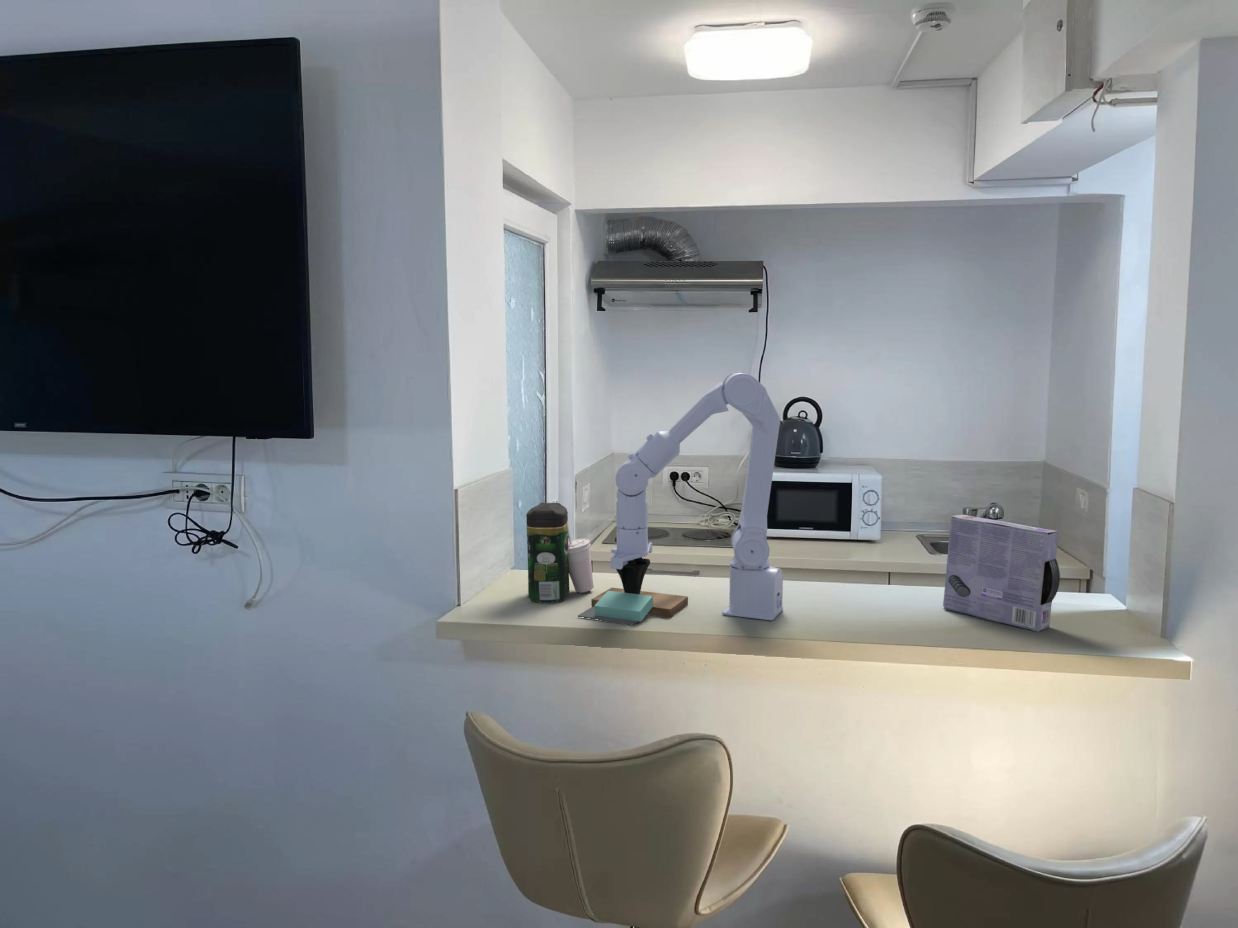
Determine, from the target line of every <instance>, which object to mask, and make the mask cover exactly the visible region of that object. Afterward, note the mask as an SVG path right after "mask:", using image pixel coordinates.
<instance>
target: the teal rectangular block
mask: <svg viewBox="0 0 1238 928" xmlns="http://www.w3.org/2000/svg"><path fill="white" fill-rule="evenodd" d="M606 591H607V590H606ZM653 606H654V605H653V596H648V595H640V594H632V593H624V592H615V591H607V592H606V593H605V595H604V596H603V597H602V598H601V599H600V600H599V601H598V602H597V603H596V604H595V605H594V608H595V616H603V617H610V618H618V619H625V620H633V621H638V622H639V623H640V622H642V621H643V620H644V619H645V617H647V616H648V615H647V613H648V612H649V611H650V610H651V608H652V607H653ZM646 615H647V616H646Z"/></svg>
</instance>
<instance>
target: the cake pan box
mask: <svg viewBox="0 0 1238 928" xmlns="http://www.w3.org/2000/svg"><path fill="white" fill-rule="evenodd" d="M949 524H950V525H949V537H948V545H947V546H948V548H947V558H946V569H945V580H944V581H945V582H944V591H943V592H944V593H943V603H942V607H943V608H942V609H944V610H947V611H948V610H949V611H953V612H957V613H961V614H964V615H969V616H974V617H976V618H979V619H984V620H988V621H992V622H996V623H999V624H1001V623H1002V624H1006V625H1009V626H1013V627H1014V626H1015V627H1017V628H1022V629H1027V630H1030V631H1034V632H1036V633H1039V632H1042V631H1043V630H1047V629H1049V627H1050V626H1051V614H1052V603H1053V601H1054V599H1055V598H1056V595H1057V594H1058V590H1059V587H1060V580H1061V573H1060V567H1059V564H1058V560H1057V553H1058V552H1057V551H1058V544H1059V543H1058V542H1059V531H1058V530H1053V529H1048V528H1047V529H1046V528H1041V527H1036V526H1030V525H1026V524H1025V525H1024V524H1019V523H1015V522H1014V523H1013V522H1008V521H1002V520H996V519H990V518H986V517H985V518H984V517H978V516H973V515H967V514H955V515H951V517H950V523H949Z"/></svg>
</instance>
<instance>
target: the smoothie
mask: <svg viewBox="0 0 1238 928" xmlns="http://www.w3.org/2000/svg"><path fill="white" fill-rule="evenodd" d="M590 547H591V542H590V539H588V538H582V537H581V538H576V539H575V538H574V539H572V536H571V530H570V527H569V525H568V561H569V579H571V583H572V586H573V588H574V590H575V592H576V593H577V592H579V593H578V594H582V593H586V592H590V591H592V590H593V589H594V587H595V586H594V578H593V566H592V561H591V559H592V558H591V550H590Z"/></svg>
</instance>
